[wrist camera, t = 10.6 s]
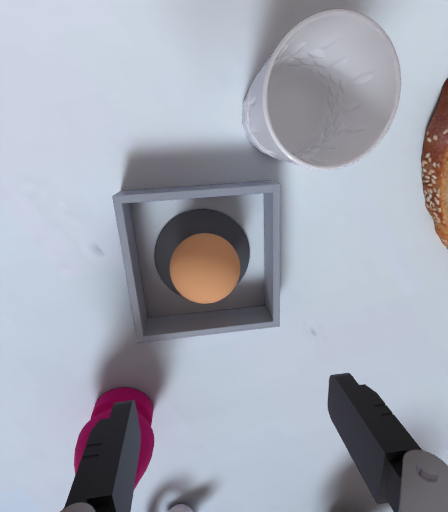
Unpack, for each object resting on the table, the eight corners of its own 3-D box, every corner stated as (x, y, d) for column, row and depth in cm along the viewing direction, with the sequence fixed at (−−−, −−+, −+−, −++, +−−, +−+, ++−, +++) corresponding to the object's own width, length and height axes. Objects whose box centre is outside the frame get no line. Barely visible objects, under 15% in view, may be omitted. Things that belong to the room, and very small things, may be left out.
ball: (233, 223, 29) (244, 241, 23) (236, 282, 30) (247, 312, 25) (168, 228, 28) (162, 248, 22) (175, 288, 30) (172, 320, 24)
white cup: (292, 39, 25) (359, -31, 15) (340, 124, 27) (424, 110, 18) (215, 105, 25) (233, 78, 16) (269, 181, 28) (312, 197, 19)
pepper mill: (79, 424, 34) (-49, 763, 15) (104, 374, 32) (-6, 685, 14) (141, 441, 36) (95, 762, 17) (168, 394, 34) (149, 693, 15)
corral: (269, 180, 28) (280, 184, 25) (270, 309, 32) (279, 326, 29) (120, 191, 27) (112, 196, 24) (142, 324, 31) (137, 343, 28)
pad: (247, 205, 28) (248, 205, 28) (250, 293, 31) (250, 294, 31) (148, 213, 28) (148, 213, 27) (160, 303, 30) (160, 304, 30)
